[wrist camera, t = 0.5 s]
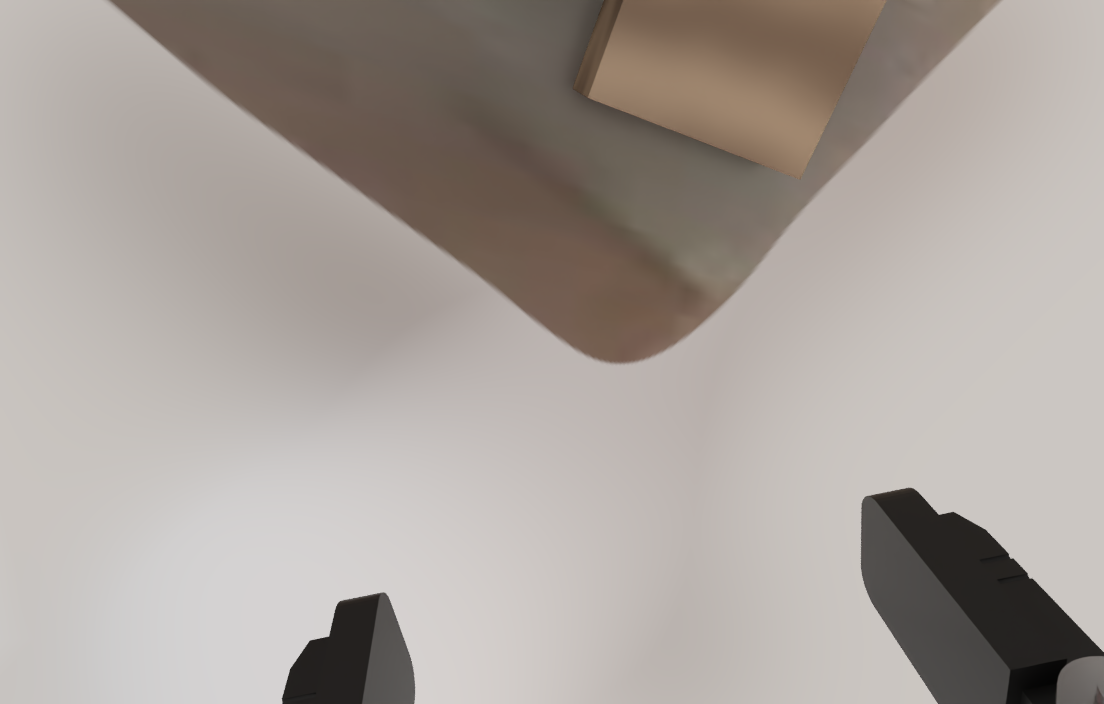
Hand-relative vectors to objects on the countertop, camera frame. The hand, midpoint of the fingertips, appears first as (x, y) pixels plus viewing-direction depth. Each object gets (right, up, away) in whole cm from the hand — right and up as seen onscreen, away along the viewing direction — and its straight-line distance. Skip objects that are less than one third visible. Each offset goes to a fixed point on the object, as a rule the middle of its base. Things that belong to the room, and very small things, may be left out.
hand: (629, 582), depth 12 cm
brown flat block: (+6, +19, +22) cm, 29 cm away
